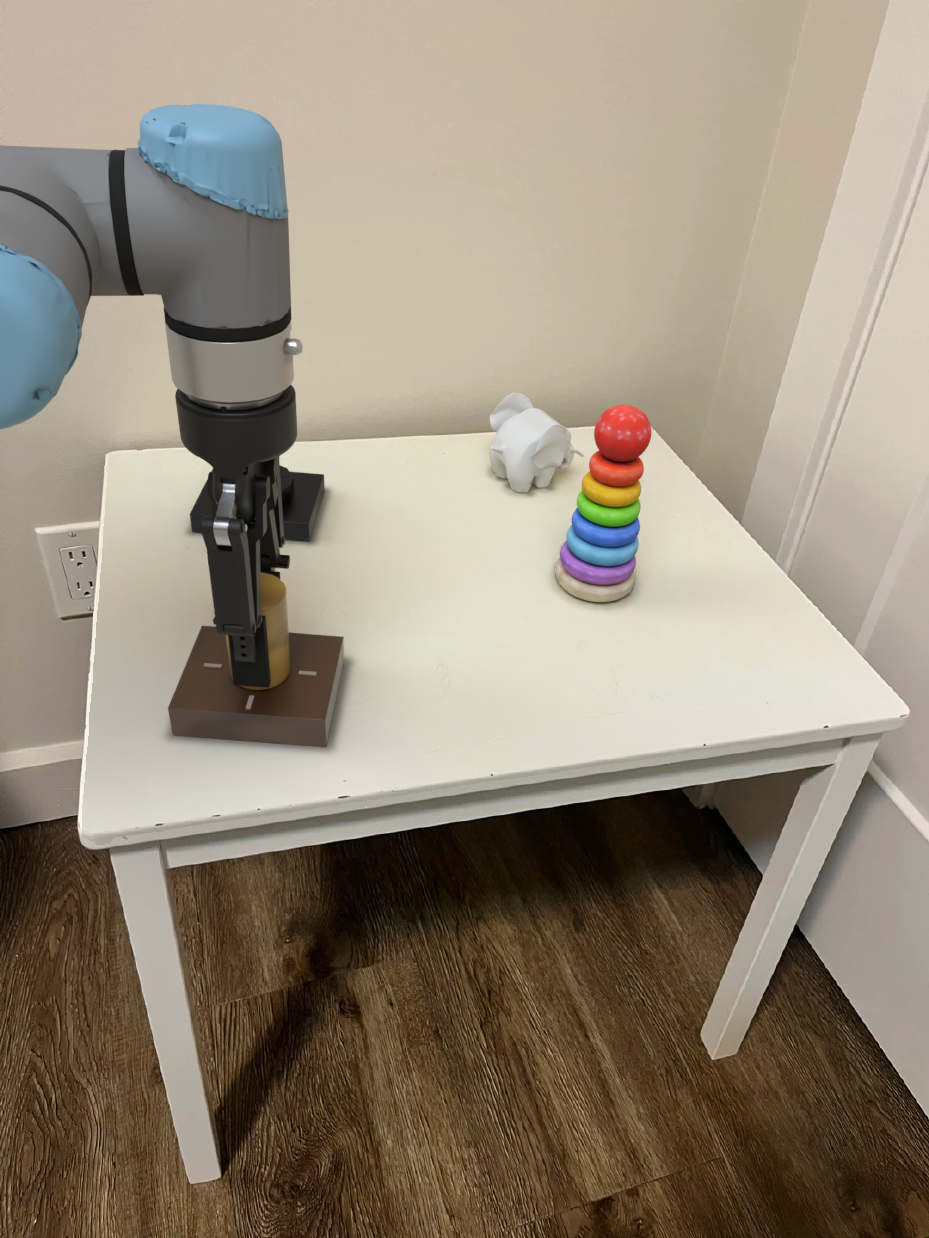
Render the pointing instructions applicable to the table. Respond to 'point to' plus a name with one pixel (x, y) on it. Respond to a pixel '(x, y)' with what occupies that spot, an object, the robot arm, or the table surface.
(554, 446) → the elephant figurine
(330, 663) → the plate
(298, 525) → the block
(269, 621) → the lock knob
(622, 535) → the stacking toy
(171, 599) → the table surface
